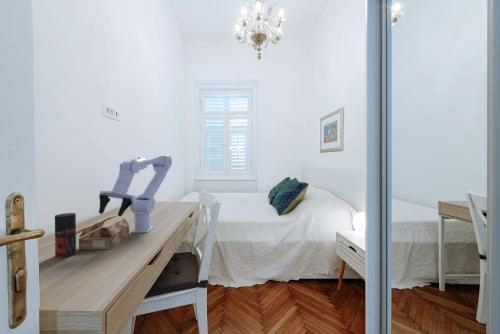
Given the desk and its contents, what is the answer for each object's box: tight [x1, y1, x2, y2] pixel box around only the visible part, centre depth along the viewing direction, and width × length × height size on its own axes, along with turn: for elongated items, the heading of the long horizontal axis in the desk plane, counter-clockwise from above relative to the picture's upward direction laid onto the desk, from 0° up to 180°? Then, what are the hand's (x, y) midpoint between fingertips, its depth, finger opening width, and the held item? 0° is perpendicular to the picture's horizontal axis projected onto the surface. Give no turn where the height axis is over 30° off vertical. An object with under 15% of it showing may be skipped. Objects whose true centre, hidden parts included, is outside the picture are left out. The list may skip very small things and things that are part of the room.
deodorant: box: [54, 212, 77, 259], centre depth 81 cm, size 6×6×15 cm
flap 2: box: [106, 217, 130, 236], centre depth 94 cm, size 15×1×4 cm, turn 6°
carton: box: [78, 225, 130, 251], centre depth 94 cm, size 17×12×4 cm
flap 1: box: [78, 218, 107, 238], centre depth 93 cm, size 15×1×4 cm, turn 6°
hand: (109, 214), depth 91 cm, fingers open, 7 cm apart
